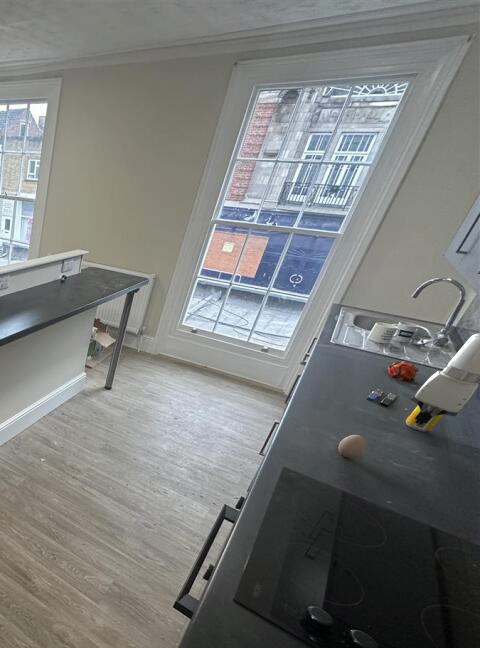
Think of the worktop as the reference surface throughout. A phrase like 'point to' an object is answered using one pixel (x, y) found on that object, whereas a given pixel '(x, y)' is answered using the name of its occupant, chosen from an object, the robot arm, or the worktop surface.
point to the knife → (388, 400)
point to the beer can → (424, 426)
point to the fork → (375, 395)
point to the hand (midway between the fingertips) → (418, 422)
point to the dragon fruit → (403, 371)
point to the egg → (352, 446)
